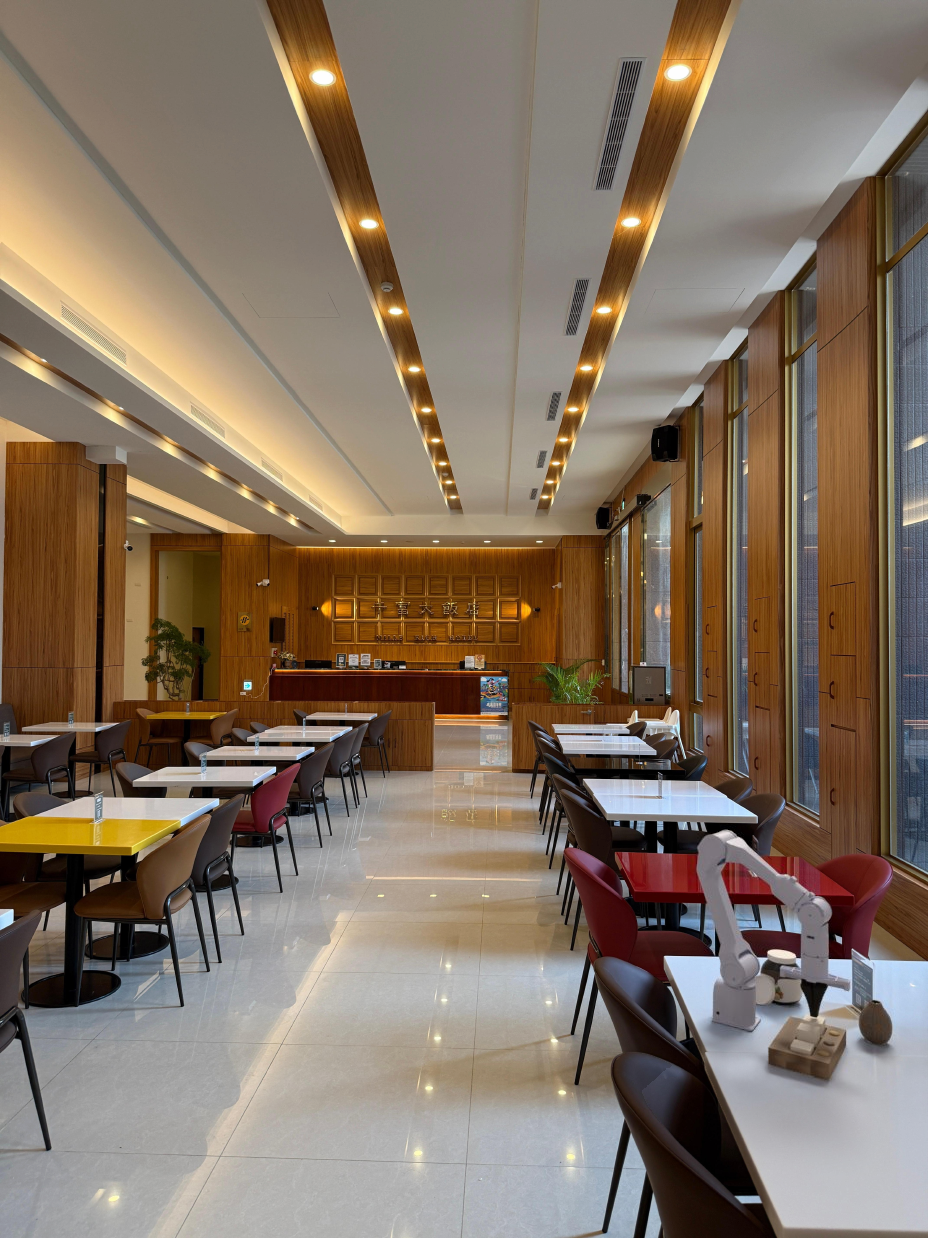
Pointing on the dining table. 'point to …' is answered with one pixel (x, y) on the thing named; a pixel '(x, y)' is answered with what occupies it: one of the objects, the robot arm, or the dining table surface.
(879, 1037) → the vase
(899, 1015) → the dining table surface
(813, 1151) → the dining table surface
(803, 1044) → the button
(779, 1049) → the button board
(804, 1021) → the button
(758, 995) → the spread jar
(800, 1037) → the button middle
